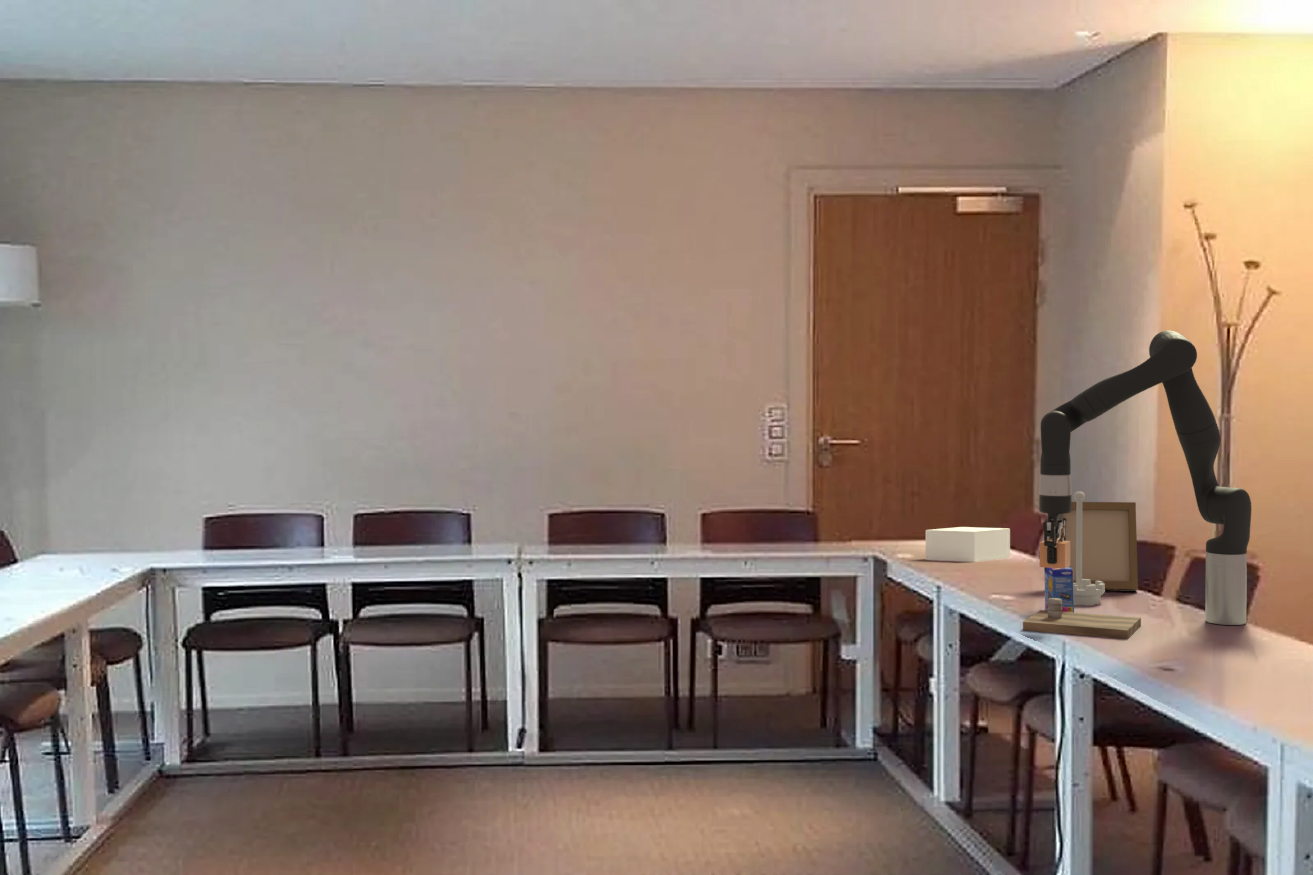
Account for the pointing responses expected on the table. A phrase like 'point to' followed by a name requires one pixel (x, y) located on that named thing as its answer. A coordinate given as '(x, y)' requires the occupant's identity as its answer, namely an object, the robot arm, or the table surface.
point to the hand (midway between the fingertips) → (1055, 561)
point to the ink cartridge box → (1060, 587)
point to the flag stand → (1083, 587)
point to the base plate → (1080, 622)
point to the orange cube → (1062, 555)
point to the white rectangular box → (968, 544)
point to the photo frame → (1106, 543)
